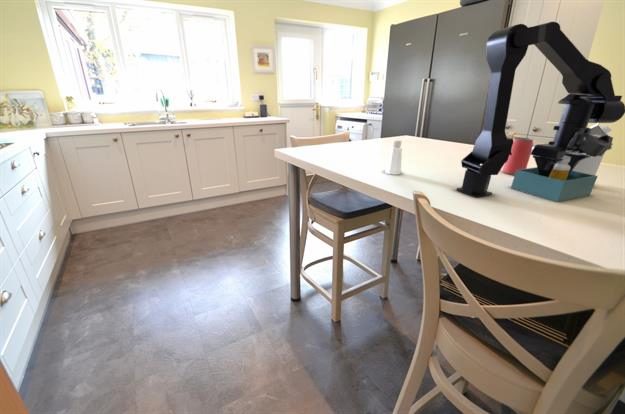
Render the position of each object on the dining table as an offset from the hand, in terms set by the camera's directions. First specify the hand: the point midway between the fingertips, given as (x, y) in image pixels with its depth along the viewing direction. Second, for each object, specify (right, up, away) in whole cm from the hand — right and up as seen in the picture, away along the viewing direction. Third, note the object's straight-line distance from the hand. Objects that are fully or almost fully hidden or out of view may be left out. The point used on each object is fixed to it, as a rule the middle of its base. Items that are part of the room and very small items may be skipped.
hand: (553, 180), depth 80 cm
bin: (0, -3, +1) cm, 3 cm away
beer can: (+2, +4, +19) cm, 20 cm away
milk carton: (+15, 0, +9) cm, 17 cm away
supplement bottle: (0, -3, +1) cm, 3 cm away
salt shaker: (-40, +4, +17) cm, 44 cm away
